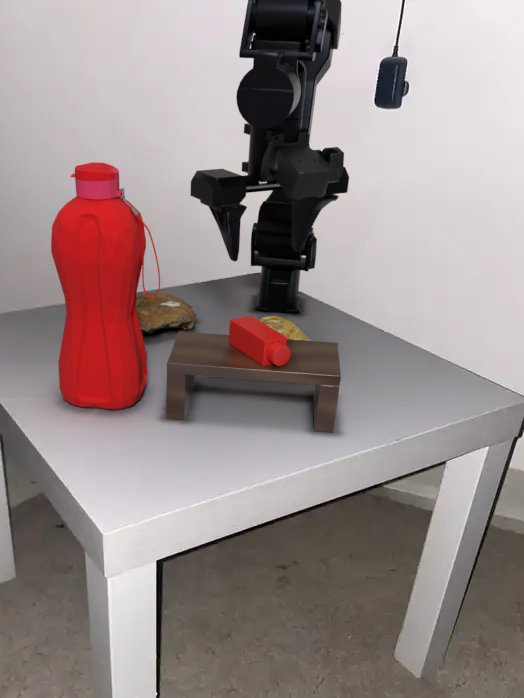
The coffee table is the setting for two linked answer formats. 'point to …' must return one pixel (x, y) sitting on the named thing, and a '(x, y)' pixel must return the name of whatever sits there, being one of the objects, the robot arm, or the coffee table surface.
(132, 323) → the water bottle
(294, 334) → the fossil
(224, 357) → the shelf
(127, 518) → the coffee table surface
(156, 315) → the decorative rock
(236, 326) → the red square bottle
